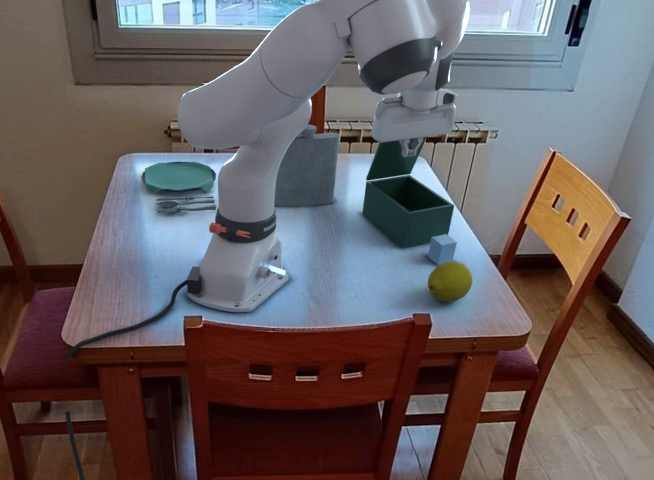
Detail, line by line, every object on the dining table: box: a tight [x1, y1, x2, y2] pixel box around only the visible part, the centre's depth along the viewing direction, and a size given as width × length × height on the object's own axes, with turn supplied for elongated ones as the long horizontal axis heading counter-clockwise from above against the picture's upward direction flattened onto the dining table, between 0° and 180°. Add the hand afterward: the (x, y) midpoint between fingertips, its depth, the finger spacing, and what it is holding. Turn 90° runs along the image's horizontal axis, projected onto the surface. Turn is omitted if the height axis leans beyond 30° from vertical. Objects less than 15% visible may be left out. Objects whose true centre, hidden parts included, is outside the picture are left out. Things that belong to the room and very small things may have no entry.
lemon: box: [427, 260, 473, 303], centre depth 123 cm, size 11×8×8 cm
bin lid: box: [365, 137, 428, 181], centre depth 146 cm, size 19×13×6 cm
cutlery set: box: [140, 161, 217, 214], centre depth 162 cm, size 20×30×2 cm, turn 11°
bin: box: [362, 174, 455, 249], centre depth 149 cm, size 19×13×9 cm
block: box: [427, 234, 458, 266], centre depth 137 cm, size 4×4×5 cm
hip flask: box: [274, 124, 340, 207], centre depth 154 cm, size 16×4×20 cm, turn 103°
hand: (408, 155), depth 143 cm, fingers closed
